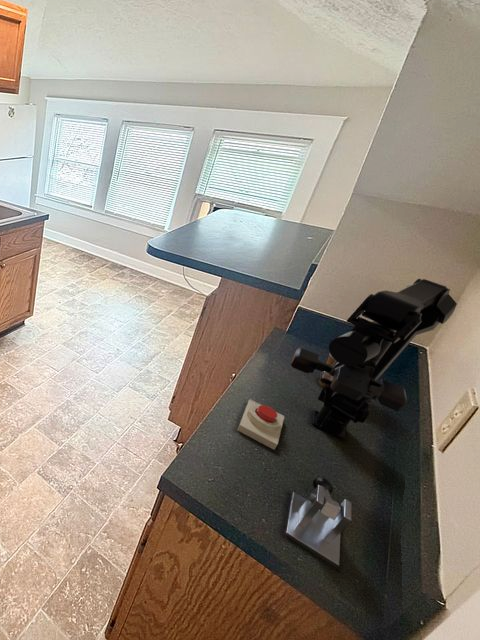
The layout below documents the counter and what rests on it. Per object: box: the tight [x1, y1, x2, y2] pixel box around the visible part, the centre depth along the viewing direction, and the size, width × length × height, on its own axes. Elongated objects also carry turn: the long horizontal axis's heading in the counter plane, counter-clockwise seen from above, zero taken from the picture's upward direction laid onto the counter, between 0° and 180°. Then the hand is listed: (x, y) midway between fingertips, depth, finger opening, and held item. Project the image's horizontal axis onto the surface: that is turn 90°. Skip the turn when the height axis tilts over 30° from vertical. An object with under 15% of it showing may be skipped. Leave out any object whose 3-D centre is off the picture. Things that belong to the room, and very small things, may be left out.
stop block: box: [237, 398, 285, 451], centre depth 94 cm, size 12×8×4 cm, turn 139°
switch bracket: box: [284, 485, 353, 569], centre depth 71 cm, size 11×8×9 cm
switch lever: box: [312, 476, 341, 520], centre depth 74 cm, size 13×3×3 cm, turn 140°
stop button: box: [256, 404, 278, 423], centre depth 93 cm, size 4×4×2 cm
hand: (325, 405), depth 85 cm, fingers closed
